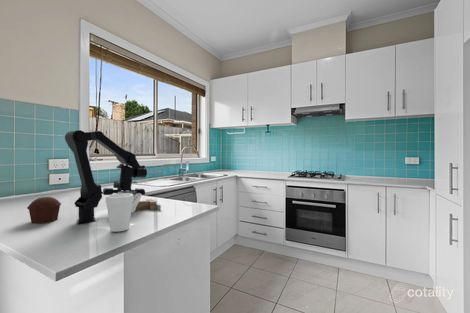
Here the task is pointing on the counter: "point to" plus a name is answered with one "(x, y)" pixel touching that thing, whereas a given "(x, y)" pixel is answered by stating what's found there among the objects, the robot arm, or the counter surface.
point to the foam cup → (119, 211)
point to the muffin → (44, 210)
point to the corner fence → (158, 206)
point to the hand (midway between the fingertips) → (122, 208)
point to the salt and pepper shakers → (135, 201)
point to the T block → (146, 205)
